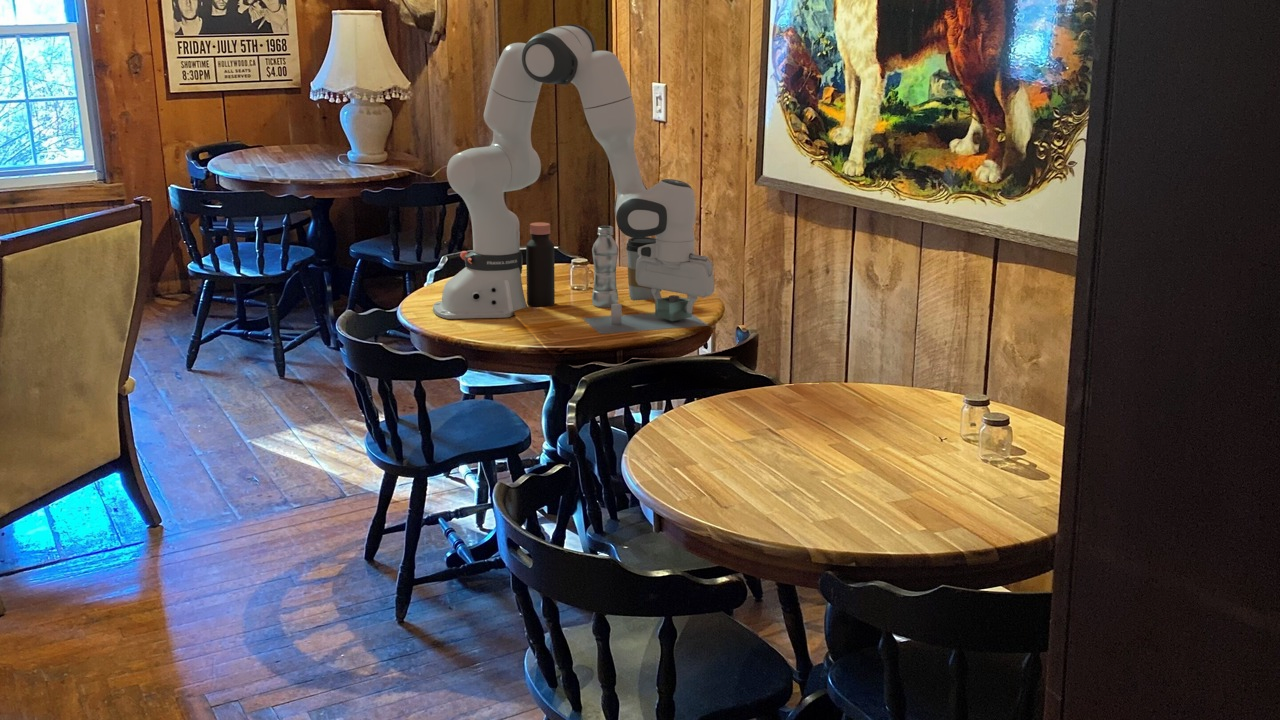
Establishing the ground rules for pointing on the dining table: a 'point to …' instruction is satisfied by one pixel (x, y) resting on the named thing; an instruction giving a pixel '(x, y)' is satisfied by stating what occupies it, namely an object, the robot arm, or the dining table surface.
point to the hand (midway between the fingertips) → (673, 309)
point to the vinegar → (540, 266)
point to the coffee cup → (632, 256)
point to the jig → (639, 321)
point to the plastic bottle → (605, 268)
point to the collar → (671, 309)
